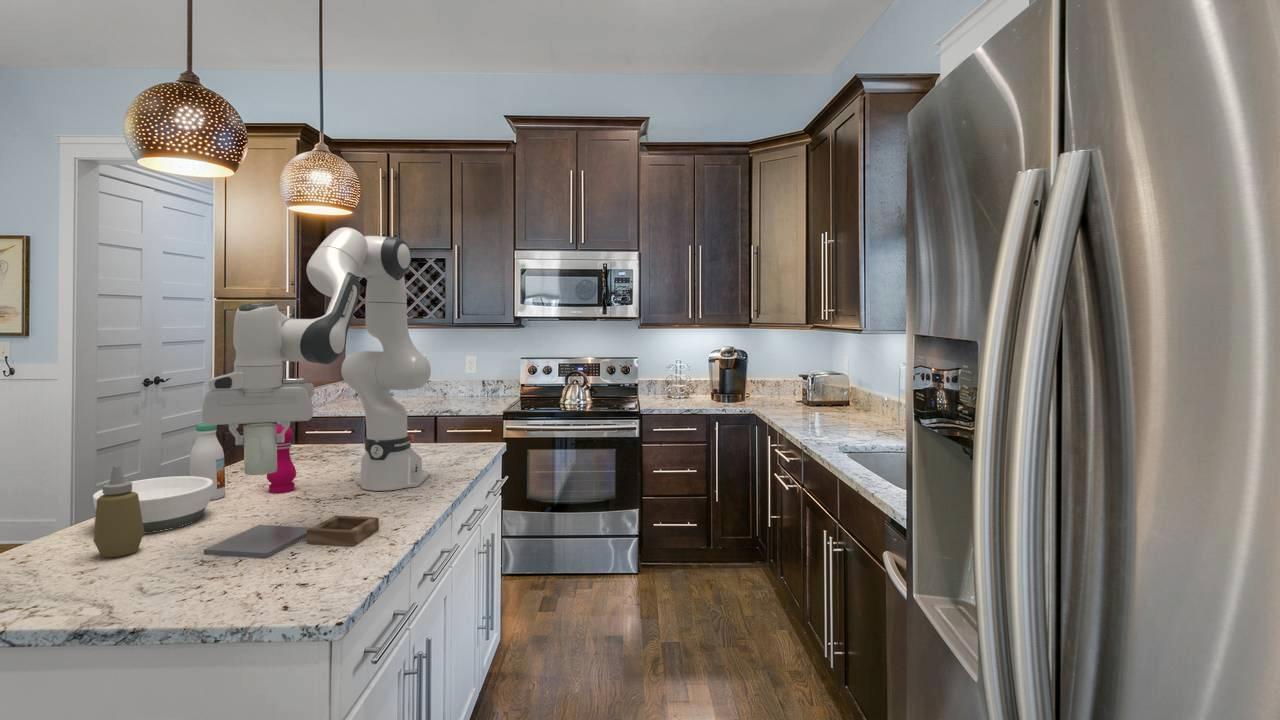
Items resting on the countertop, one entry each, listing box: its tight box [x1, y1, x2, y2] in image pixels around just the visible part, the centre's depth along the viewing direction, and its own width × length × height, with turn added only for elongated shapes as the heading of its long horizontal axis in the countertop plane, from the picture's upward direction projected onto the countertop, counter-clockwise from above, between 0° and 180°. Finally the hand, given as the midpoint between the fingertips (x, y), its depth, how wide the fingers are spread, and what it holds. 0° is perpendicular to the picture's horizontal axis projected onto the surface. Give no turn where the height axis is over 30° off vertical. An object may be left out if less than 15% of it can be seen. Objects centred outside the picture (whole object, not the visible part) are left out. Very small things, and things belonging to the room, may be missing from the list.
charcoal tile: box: [203, 524, 312, 559], centre depth 137 cm, size 16×14×1 cm
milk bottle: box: [189, 422, 226, 501], centre depth 170 cm, size 8×8×20 cm
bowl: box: [92, 475, 213, 533], centre depth 150 cm, size 22×22×8 cm
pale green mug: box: [243, 422, 277, 476], centre depth 135 cm, size 8×6×10 cm
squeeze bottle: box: [93, 465, 145, 558], centre depth 130 cm, size 8×8×18 cm
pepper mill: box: [266, 422, 297, 494], centre depth 178 cm, size 7×7×20 cm
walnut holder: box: [306, 515, 380, 547], centre depth 141 cm, size 10×10×3 cm
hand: (260, 443), depth 136 cm, fingers closed on pale green mug, 6 cm apart
